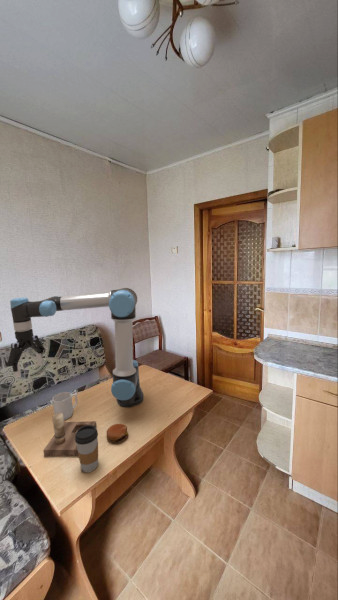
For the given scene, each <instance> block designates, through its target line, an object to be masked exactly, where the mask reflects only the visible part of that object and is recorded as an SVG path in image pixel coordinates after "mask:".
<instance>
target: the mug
mask: <svg viewBox="0 0 338 600" xmlns="http://www.w3.org/2000/svg"><path fill="white" fill-rule="evenodd" d="M73 397H75V403H74V404H73V400H72V399H73ZM77 405H78V394H77V393H73V394H72V393H71V392H68V391H64V392H59V393H56V394H54V396H53V397H52V406H53V407H52V408H53V413H54V414H56V413H62V414H63V420H64V421H66V420H68V419H69V418H71V417H72V416H73V413H74V409H75V407H76V406H77ZM54 414H53V415H54Z"/></svg>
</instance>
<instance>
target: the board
mask: <svg viewBox="0 0 338 600" xmlns="http://www.w3.org/2000/svg"><path fill="white" fill-rule="evenodd" d="M86 425H93V426H95V427H96V428H97V421H95V420H94V421H90V420H89V421H87V420H86V421H64V428H65V441H64V442H63V443H62V444H57V442H56V438H55V436H54V435H55V433H54V435H53V436H52V437H51V439H50V440H49V441H48V443H47V445H46V446H45V447H44V448H43V457H46V458H47V457H50V458H51V457H52V458H53V457H79V456H78V451H77V444H76V442H75V435H76V432H77V430H78V429H79V428H81V427H83V426H86Z"/></svg>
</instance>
